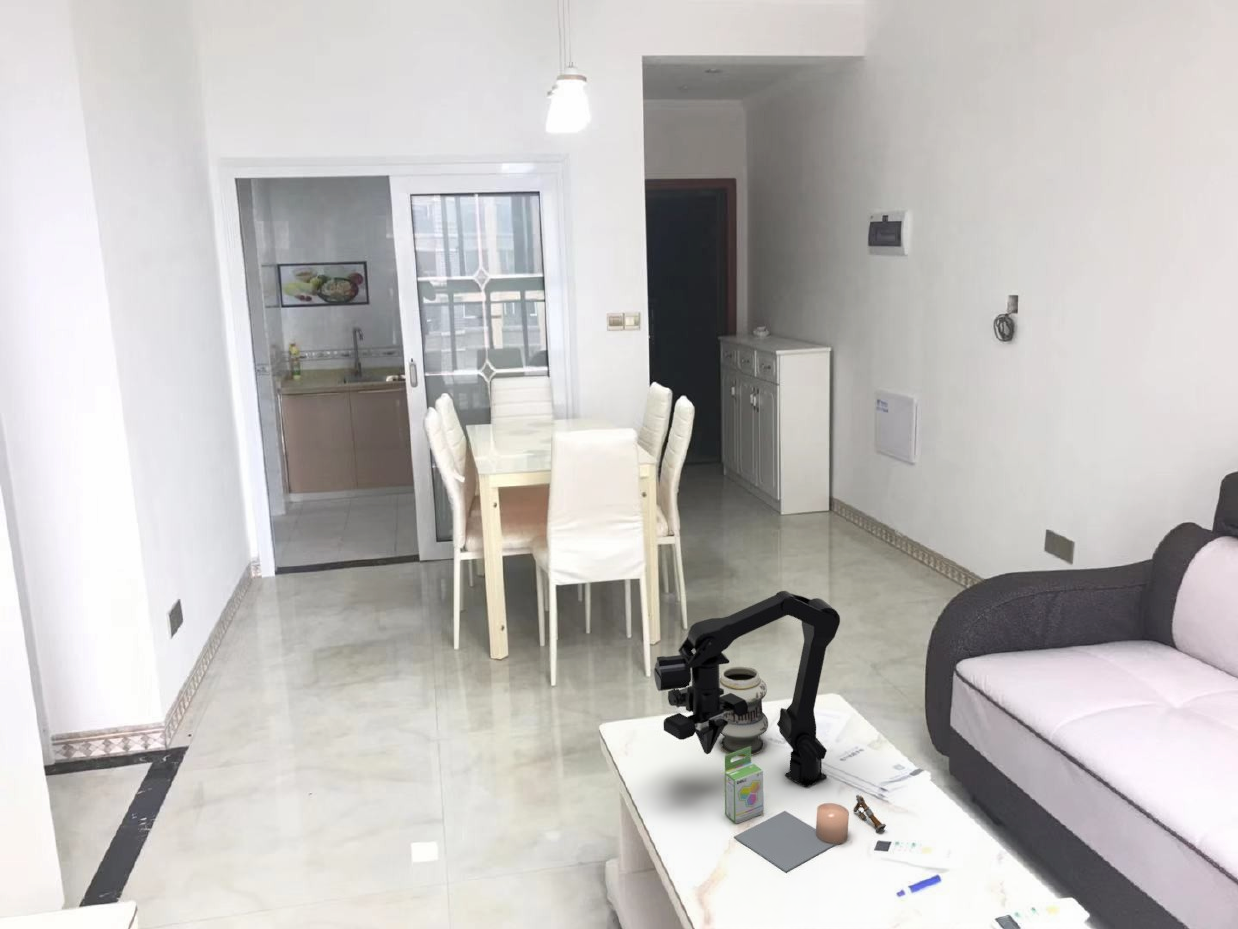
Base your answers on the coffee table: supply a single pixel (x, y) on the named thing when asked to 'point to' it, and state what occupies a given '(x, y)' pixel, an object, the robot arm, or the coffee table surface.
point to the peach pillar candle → (832, 823)
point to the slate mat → (784, 841)
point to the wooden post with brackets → (867, 813)
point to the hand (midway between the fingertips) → (707, 753)
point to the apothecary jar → (755, 722)
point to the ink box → (743, 787)
